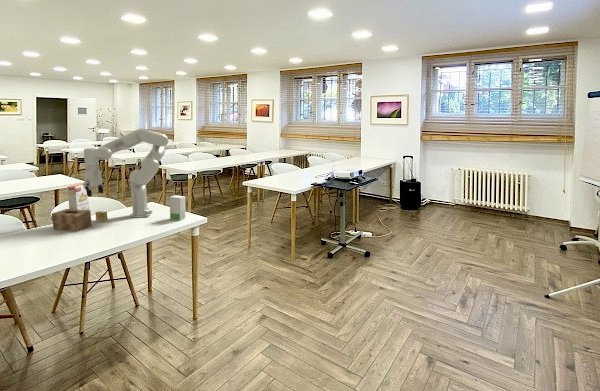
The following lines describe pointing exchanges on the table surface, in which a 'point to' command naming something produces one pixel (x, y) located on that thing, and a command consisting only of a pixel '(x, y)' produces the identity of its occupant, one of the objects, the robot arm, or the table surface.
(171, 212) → the skincare box
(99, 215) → the token
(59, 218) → the coin box
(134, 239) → the table surface
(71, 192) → the cracker box
